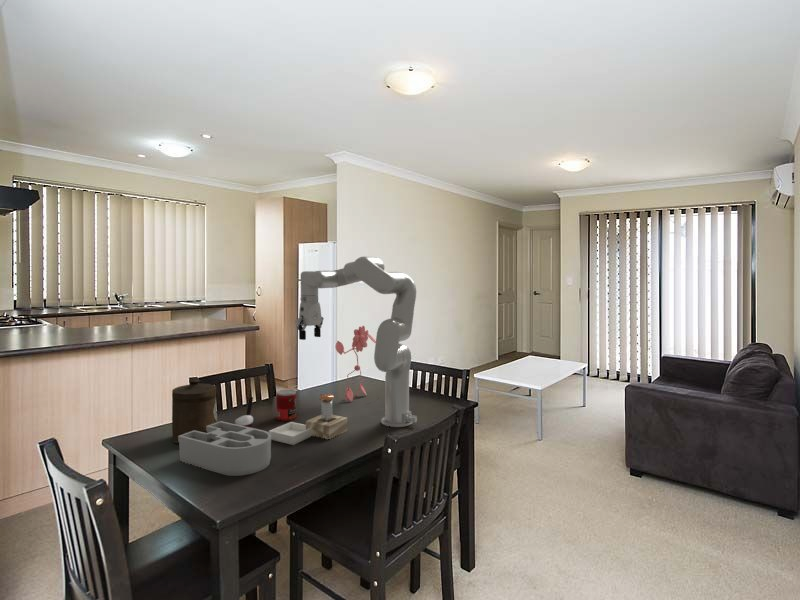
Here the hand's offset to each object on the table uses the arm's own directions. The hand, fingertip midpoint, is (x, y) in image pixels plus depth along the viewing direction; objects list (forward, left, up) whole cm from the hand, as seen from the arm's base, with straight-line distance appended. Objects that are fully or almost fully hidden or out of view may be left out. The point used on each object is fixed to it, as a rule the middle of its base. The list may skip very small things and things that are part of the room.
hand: (310, 338), depth 202 cm
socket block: (-27, +22, -31) cm, 46 cm away
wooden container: (+11, +50, -31) cm, 60 cm away
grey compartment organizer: (-17, +58, -31) cm, 68 cm away
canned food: (-2, +17, -31) cm, 35 cm away
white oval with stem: (0, +37, -31) cm, 48 cm away
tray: (-19, +32, -31) cm, 48 cm away
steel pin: (-27, +22, -31) cm, 46 cm away
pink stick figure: (-13, -21, -31) cm, 40 cm away
